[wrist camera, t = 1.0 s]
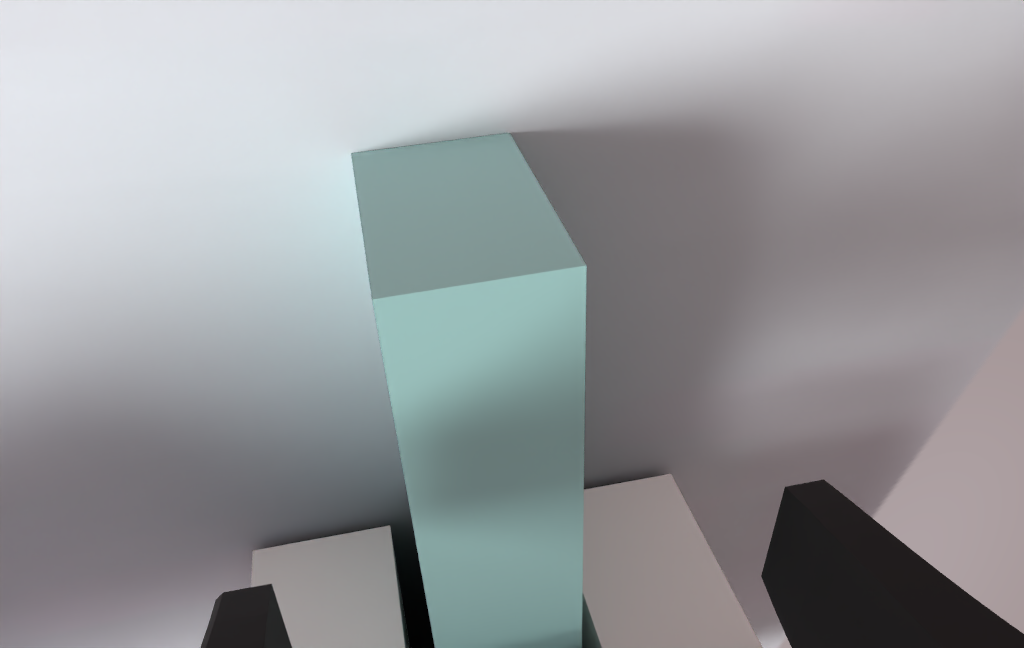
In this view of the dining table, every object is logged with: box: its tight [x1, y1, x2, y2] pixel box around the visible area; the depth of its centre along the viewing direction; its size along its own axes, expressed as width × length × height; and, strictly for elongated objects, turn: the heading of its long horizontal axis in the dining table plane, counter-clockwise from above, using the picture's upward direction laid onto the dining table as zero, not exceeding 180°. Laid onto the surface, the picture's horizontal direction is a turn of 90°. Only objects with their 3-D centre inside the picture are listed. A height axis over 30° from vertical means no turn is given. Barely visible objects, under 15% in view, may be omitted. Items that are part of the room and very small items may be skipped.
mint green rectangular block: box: [351, 133, 587, 648], centre depth 17 cm, size 16×3×5 cm, turn 3°
